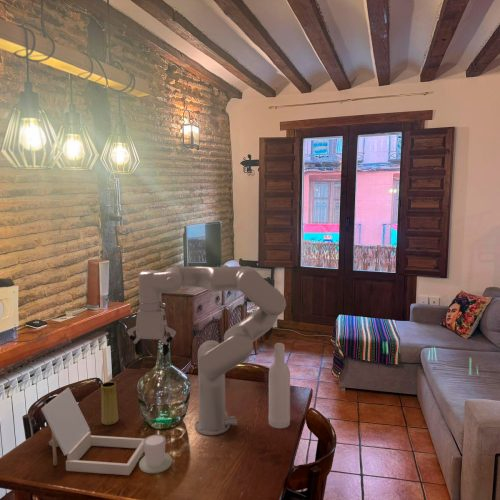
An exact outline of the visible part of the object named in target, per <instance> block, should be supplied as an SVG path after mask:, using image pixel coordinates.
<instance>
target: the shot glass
mask: <svg viewBox="0 0 500 500" xmlns="http://www.w3.org/2000/svg"><path fill="white" fill-rule="evenodd" d="M143 439H144V441H143V444H144V456H145V459H146V464H147V465H148V466H150V467H155V466H159V465H161V464H162V463H163V462H164V458H165V453H166V444H167V443H166V441H167V439H166V436H164V435H161V434H152V435H148V436H147V437H145V438H143Z"/></svg>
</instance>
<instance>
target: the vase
mask: <svg viewBox="0 0 500 500" xmlns="http://www.w3.org/2000/svg"><path fill="white" fill-rule="evenodd" d="M100 394H101V396H100V397H101V420H100V422H101V424H103V425H105V426H108V425H113V424H116V423H117V422H118V421H119V409H118V402H117V401H118V399H117V384H116V382H115V381H107V382H103V383H102V384H100Z"/></svg>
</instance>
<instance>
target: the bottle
mask: <svg viewBox="0 0 500 500" xmlns="http://www.w3.org/2000/svg"><path fill="white" fill-rule="evenodd" d="M285 347H286V346H285V344H284V343H282V342H276V343H274V346H273V350H274V351H273V352H274V353H273V354H274V355H273V357H274V362H273V363H272V364H271V365H270V367H269V370H268V416H267V417H268V418H267V419H268V424H269V426H270V427H272V428H274V429H280V430H281V429H285V428H288V427H289V426H290V424H291V370H290V368H289V366H288V364H286V363H285V349H286V348H285Z"/></svg>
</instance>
